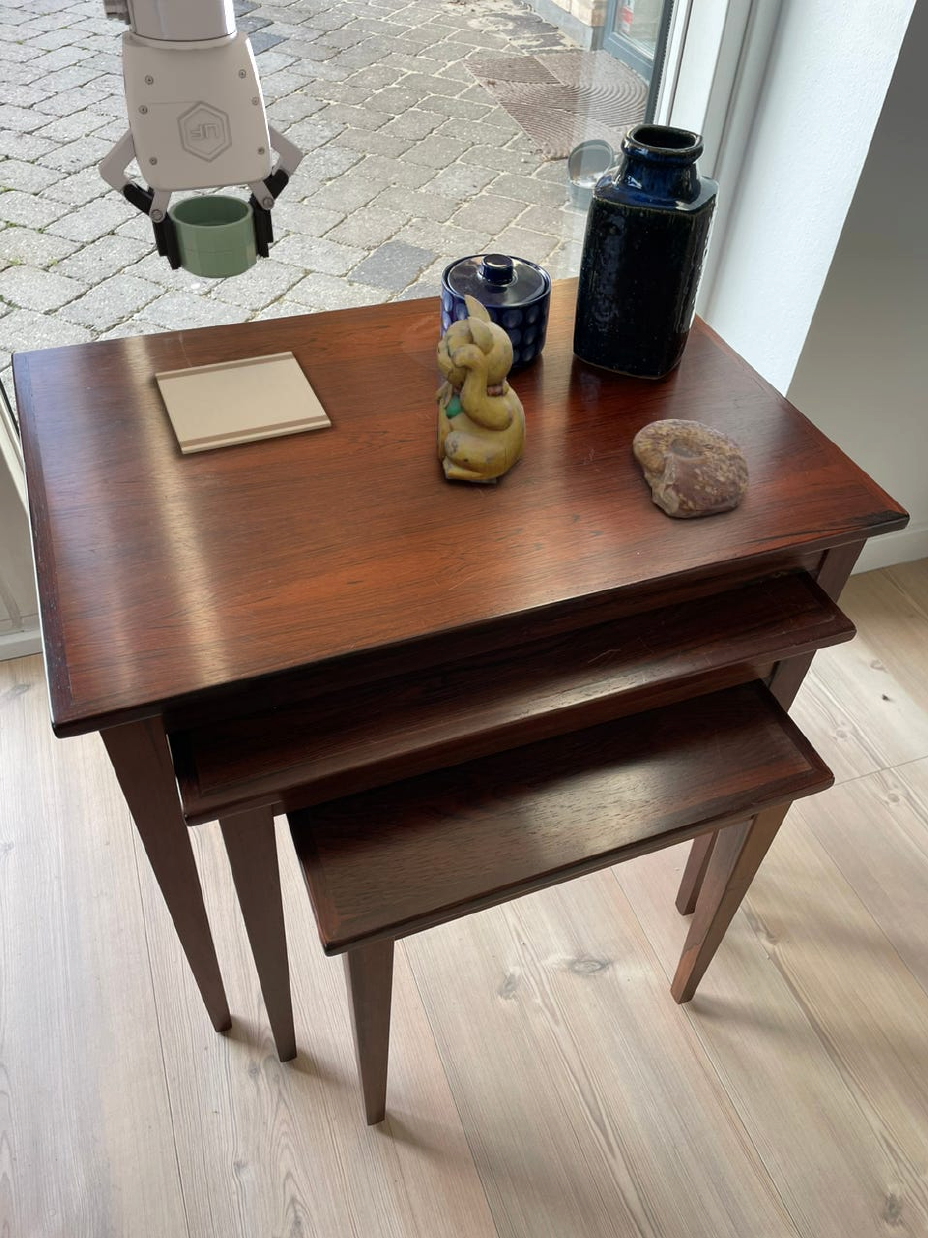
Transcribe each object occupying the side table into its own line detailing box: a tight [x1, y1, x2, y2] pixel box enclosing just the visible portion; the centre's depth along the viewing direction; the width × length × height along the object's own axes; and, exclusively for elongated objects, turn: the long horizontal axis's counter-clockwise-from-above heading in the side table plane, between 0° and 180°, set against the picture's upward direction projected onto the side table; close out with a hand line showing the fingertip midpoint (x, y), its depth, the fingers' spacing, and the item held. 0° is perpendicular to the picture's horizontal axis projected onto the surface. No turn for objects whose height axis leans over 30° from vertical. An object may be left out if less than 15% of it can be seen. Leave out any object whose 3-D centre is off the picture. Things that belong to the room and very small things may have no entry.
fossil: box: [632, 418, 750, 519], centre depth 81 cm, size 13×5×10 cm
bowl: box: [167, 194, 260, 280], centre depth 76 cm, size 7×7×4 cm
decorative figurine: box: [434, 294, 527, 485], centre depth 77 cm, size 10×8×15 cm
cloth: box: [154, 351, 332, 455], centre depth 88 cm, size 14×14×1 cm
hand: (217, 255), depth 77 cm, fingers closed on bowl, 6 cm apart
